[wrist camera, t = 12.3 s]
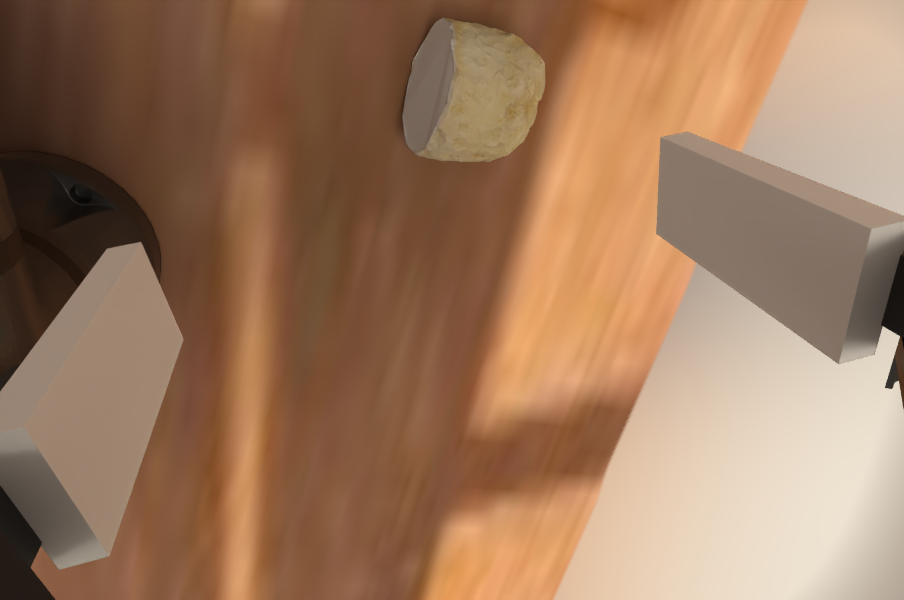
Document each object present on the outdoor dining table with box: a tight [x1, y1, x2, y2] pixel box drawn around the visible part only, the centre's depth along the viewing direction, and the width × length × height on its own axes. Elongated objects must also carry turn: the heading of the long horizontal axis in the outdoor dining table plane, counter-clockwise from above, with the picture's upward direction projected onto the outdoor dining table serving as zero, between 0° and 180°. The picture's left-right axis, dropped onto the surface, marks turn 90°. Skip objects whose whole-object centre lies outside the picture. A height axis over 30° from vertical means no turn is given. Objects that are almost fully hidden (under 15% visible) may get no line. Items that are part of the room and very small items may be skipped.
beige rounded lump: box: [402, 18, 545, 162], centre depth 40 cm, size 10×10×10 cm
